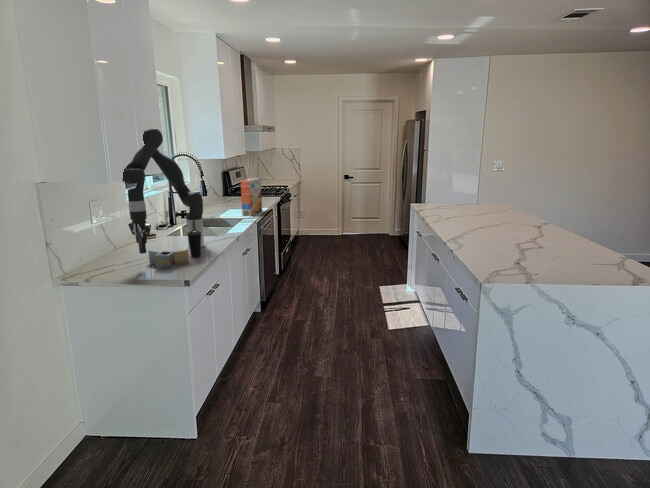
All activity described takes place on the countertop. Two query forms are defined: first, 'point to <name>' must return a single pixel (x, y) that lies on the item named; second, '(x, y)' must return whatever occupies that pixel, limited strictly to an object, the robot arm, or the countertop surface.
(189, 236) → the drinking cup
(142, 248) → the hinge pin
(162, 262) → the hinge
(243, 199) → the pasta box
